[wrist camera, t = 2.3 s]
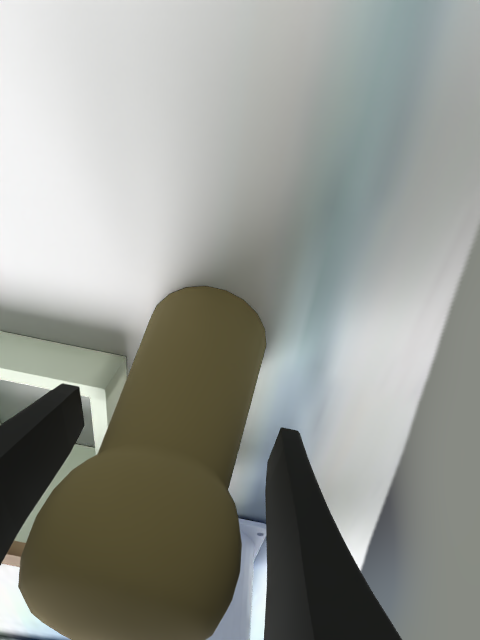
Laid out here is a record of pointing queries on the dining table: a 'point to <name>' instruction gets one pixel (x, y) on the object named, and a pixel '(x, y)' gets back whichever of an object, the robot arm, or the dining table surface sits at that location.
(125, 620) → the cork
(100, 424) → the stand
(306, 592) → the robot arm
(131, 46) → the dining table surface
